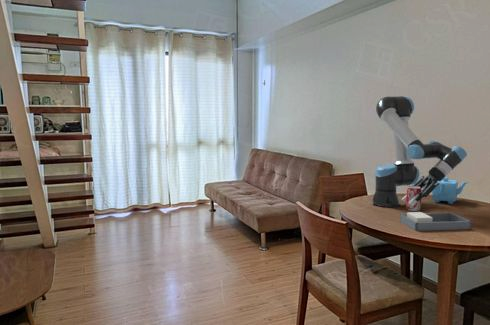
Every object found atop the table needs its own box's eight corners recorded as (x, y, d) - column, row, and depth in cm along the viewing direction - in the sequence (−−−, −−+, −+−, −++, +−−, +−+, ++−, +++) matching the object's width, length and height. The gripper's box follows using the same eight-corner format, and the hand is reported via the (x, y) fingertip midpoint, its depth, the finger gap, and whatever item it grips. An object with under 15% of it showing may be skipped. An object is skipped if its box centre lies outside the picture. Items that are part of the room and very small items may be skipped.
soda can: (422, 211, 181) (423, 188, 179) (407, 211, 183) (408, 188, 181) (418, 208, 188) (419, 185, 186) (404, 207, 189) (405, 185, 188)
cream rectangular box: (416, 228, 161) (417, 218, 161) (406, 222, 171) (406, 212, 171) (432, 228, 162) (432, 217, 161) (421, 222, 172) (421, 212, 171)
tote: (415, 232, 159) (415, 223, 158) (399, 223, 174) (400, 214, 174) (470, 231, 159) (471, 221, 159) (450, 221, 175) (450, 212, 174)
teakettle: (446, 197, 227) (447, 174, 225) (470, 203, 209) (471, 179, 207) (420, 199, 224) (421, 176, 222) (441, 206, 205) (442, 181, 204)
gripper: (456, 179, 173) (421, 212, 175) (434, 173, 193) (403, 202, 195) (445, 169, 172) (411, 202, 174) (424, 163, 192) (393, 193, 194)
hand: (407, 202), depth 185 cm, fingers closed on soda can, 7 cm apart
